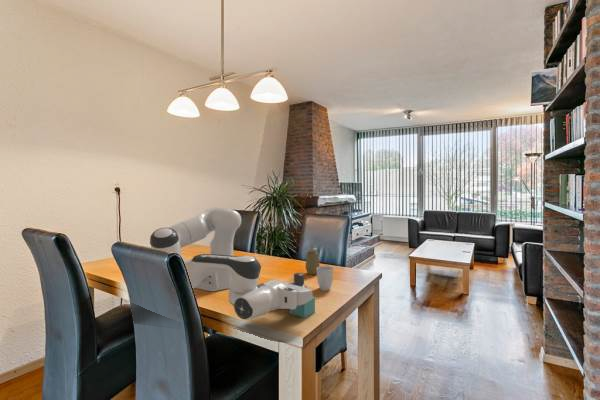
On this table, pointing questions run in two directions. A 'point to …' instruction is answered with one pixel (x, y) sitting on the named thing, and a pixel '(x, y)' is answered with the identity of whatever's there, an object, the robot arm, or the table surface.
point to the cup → (325, 277)
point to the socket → (304, 309)
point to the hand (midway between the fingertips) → (300, 285)
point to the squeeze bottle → (312, 260)
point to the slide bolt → (298, 279)
